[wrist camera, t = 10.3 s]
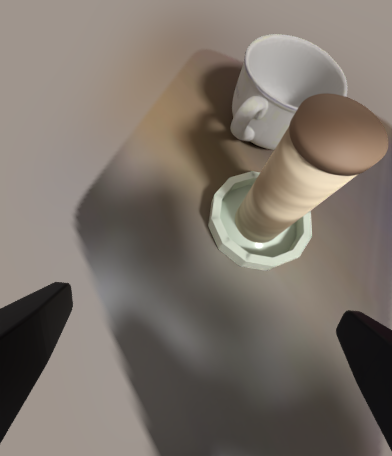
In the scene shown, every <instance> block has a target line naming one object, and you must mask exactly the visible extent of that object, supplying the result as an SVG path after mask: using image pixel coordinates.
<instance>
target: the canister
mask: <svg viewBox="0 0 392 456" xmlns="http://www.w3.org/2000/svg"><path fill="white" fill-rule="evenodd" d="M387 148H388V137H387V133H386V131H385V128H384V126H383V125H382V123H381V122H380V120H379V119H378V118H377V117H376V116H375V115H374V114H373V113H372V112H371V111H370V110H369V109H367V108H366V107H365V106H363V105H362V104H360V103H358V102H357V101H354V100H352V99H350V98H348V97H345V96H341V95H337V94H328V93H326V94H317V95H313V96H311V97H308V98H307V99H305V100H304V101H303V102H302V103H301V104H300V106H299V107H298V109H297V111H296V112H295V114H294V116H293V117H292V119H291V121H290V125H289V127H288V129H287V130H286V132H285V134H284V135H283V137H282V138H281V140H280V142H279V143H278V145H277V147H276V148H275V150H274V151H273V153H272V155H271V156H270V158H269V160H268V161H267V163H266V164H265V166H264V168H263V169H262V171H261V172H260V174H259V176H258V177H257V179H256V181H255V182H254V184H253V185H252V187H251V189H250V190H249V192H248V193H247V195H246V197H245V198H244V200H243V202H242V203H241V205H240V206H239V208H238V210H237V212H236V215H235V223H236V226H237V229H238V231H239V232H240V233H241V234H242V236H244V237H245V238H246V239H248V240H250V241H252V242H255V243H266V242H269V241H271V240H272V239H274V238H275V237H276V236H278V235H279V234H280V233H282V232H283V231H284V230H286V229H287V228H288V227H290V226H291V225H292V224H294V223H295V222H296V221H297V220H299V219H300V218H301V217H303V216H304V215H305V214H307V213H308V212H309V211H311V210H312V209H313V208H314V207H316V206H317V205H318V204H320V203H321V202H322V201H324V200H325V199H326V198H328V197H329V196H330V195H332V194H333V193H334V192H335V191H337V190H338V189H339V188H341V187H342V186H343V185H345V184H346V183H347V182H349V181H350V180H351V179H353V178H354V177H355V176H356V175H358V174H360V173H363V172H364V171H366V170H368V169H369V168H370V167H372V166H373V165H374V164H376V163H377V162H378V161H380V160H381V159H382V158H383V157H384V155H385V154H386V151H387Z"/></svg>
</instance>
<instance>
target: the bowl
mask: <svg viewBox="0 0 392 456" xmlns="http://www.w3.org/2000/svg"><path fill="white" fill-rule="evenodd" d="M259 174H260V173H259V172H254V171H251V172H247V173H244V174H240V175H237V176H233V177H230V178H229V179H228V180H227V181H226V182H225V183H224V184H223V185H222V187H221V188H220V189H219V190H218V191H217V192H216V193H215V194H214V197H213V200H212V202H211V210H210V217H209V224H208V227H209V229H210V231H211V233H212V236H213V238H214V240H215V243H216V245H217V247H218V250H220V251H221V252H222V253H224V254H225V255H226V256H228V257H229V258H230V259H231V260H233V261H234V262H235V263H236V264H238V265H239V266H240V267H247V268H253V269H259V270H264V271H268V270H270V269H272V268H275V267H277V266H280V265H282V264H284V263H287V262H290V261H292V260H294V259H296V258H299V257H300V255H301V253H302V252H303V250H304V248H305V247H306V245H307V244H308V242H309V240H310V239H311V237H312V227H311V211H309V212H308V213H307V214H305V215H304V216H303V217H301V218H300V219H299V220H297V221H296V222H295V223H294V224H292V225H291V226H290V227H288V228H287V229H286V230H284V231H283V232H282V233H280V234H279V235H278V236H276V237H275V238H274V239H272V240H271V241H269V242H266V243H255V242H252V241H250V240H248V239H246V238H245V237H244V236H242V234H241V233H240V232H239V231H238V229H237V226H236V223H235V215H236V212H237V210H238V208H239V206H240V205H241V203H242V202H243V200H244V198H245V197H246V195H247V193H248V192H249V190H250V189H251V187H252V185H253V184H254V182H255V181H256V179H257V177H258V176H259Z"/></svg>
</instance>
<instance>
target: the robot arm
mask: <svg viewBox="0 0 392 456" xmlns="http://www.w3.org/2000/svg"><path fill="white" fill-rule="evenodd" d="M72 307H73V301H72V291H71V286H70V284H69V283H62V282H55V283H52V284H50V285H48V286H46V287H44V288H42V289H40V290H38V291H36V292H34V293H32V294H30V295H28V296H26V297H23V298H21V299H20V300H17V301H15V302H13V303H11V304H9V305H7V306H5V307H3V308H1V309H0V443H1V441H2V440H3V438H4V436H5V435H6V433H7V431H8V429H9V427H10V426H11V424H12V423H13V421H14V419H15V417H16V415H17V414H18V412H19V411H20V409H21V407H22V405H23V404H24V402H25V400H26V399H27V397H28V395H29V393H30V392H31V390H32V388H33V386H34V385H35V383H36V382H37V380H38V378H39V376H40V375H41V373H42V371H43V369H44V368H45V366H46V364H47V362H48V360H49V358H50V356H51V354H52V352H53V350H54V348H55V346H56V344H57V342H58V339H59V337H60V335H61V333H62V331H63V328H64V326H65V324H66V322H67V320H68V318H69V315H70V313H71V311H72ZM336 334H337V337H338V339H339V342H340V344H341V347H342V349H343V351H344V354H345V356H346V359H347V361H348V363H349V366H350V368H351V371H352V373H353V375H354V378H355V380H356V382H357V384H358V386H359V388H360V390H361V393H362V394H363V396H364V398H365V400H366V402H367V404H368V406H369V408H370V410H371V412H372V414H373V416H374V418H375V420H376V422H377V424H378V425H379V427H380V429H381V431H382V433H383V435H384V437H385V439H386V441H387V443H388V445H389V447H390V449H391V451H392V330H391V329H389V328H387V327H386V326H384V325H382V324H380V323H379V322H377V321H375V320H374V319H372V318H370V317H369V316H367V315H365V314H364V313H362V312H359V311H351V310H348V311H346V312H345V313H344V314H343V316H342V318H341V320H340V322H339V324H338V326H337V328H336Z"/></svg>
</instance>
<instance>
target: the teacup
mask: <svg viewBox="0 0 392 456" xmlns="http://www.w3.org/2000/svg"><path fill="white" fill-rule="evenodd" d="M326 93H328V94H337V95H341V96H345V97H346V95H347V81H346V78H345V75H344V73H343V71H342V70H341V68H340V67H339V65H338V64H337V63H336V62H335V61H334V60H333V59H332V58H331V57H330V56H329V54H328V53H327V52H326V51H324V50H322V49H320V48H319V47H318V46H316V45H315V44H313V43H310V42H308V41H306V40H304V39H301V38H298V37H294V36H289V35H283V34H272V35H265V36H262V37H259V38H258V39H256V40H254V41H253V43H251V45H249V47H248V49H247V50H246V53H245V59H244V64H243V67H242V69H241V72H240V75H239V78H238V82H237V85H236V88H235V92H234V96H233V102H232V113H233V120H232V123H231V132H232V134H233V135H234V136H235V137H236V138H238V139H239V140H245V141H251V142H252V143H254V144H255V145H257V146H260V147H263V148H266V149H271V150H275V148H276V147H277V145H278V143H279V142H280V140H281V138H282V137H283V135H284V134H285V132H286V130H287V129H288V127H289V125H290V121H291V119H292V117H293V116H294V114H295V112H296V111H297V109H298V107H299V106H300V104H301V103H302V102H303V101H304V100H305V99H307V98H308V97H311V96H313V95H317V94H326Z"/></svg>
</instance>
